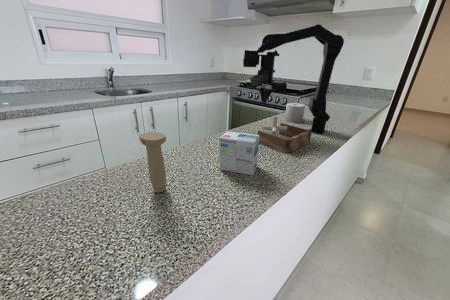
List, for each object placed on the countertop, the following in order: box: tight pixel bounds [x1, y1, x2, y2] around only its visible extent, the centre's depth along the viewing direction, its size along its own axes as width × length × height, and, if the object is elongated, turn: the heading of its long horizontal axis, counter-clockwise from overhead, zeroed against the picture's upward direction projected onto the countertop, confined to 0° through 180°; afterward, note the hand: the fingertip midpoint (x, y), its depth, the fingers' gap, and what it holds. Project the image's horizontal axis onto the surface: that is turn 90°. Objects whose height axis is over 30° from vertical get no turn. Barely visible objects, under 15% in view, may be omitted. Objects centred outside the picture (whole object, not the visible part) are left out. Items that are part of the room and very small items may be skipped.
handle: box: [138, 131, 167, 193], centre depth 52 cm, size 5×6×15 cm
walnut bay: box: [256, 122, 313, 154], centre depth 85 cm, size 16×14×5 cm
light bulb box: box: [219, 131, 260, 176], centre depth 64 cm, size 11×7×11 cm, turn 71°
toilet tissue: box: [284, 102, 306, 124], centre depth 117 cm, size 9×13×9 cm
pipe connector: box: [261, 115, 287, 135], centre depth 87 cm, size 10×10×10 cm
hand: (264, 103), depth 98 cm, fingers closed
